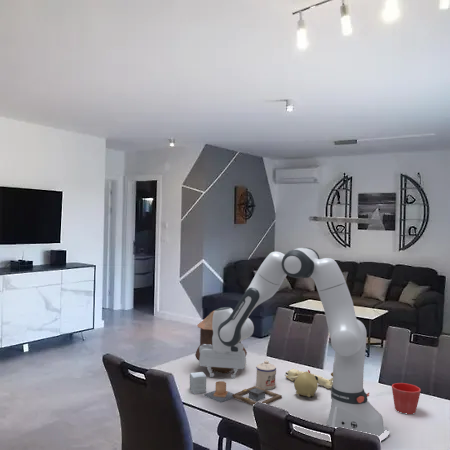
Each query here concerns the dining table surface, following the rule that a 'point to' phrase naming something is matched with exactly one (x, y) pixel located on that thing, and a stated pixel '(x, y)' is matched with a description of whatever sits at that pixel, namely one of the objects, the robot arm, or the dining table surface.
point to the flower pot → (405, 397)
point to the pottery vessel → (210, 340)
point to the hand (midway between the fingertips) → (222, 377)
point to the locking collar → (247, 400)
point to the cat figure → (322, 381)
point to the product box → (197, 382)
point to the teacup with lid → (265, 375)
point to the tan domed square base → (220, 389)
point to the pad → (219, 399)
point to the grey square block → (257, 394)
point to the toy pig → (306, 384)
